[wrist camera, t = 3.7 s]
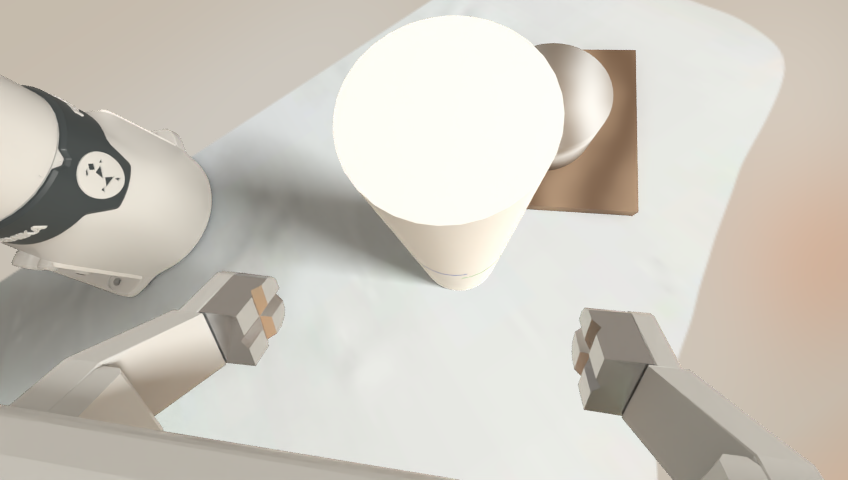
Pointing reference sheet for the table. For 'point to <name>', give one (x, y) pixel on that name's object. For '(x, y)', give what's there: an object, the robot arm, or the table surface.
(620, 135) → the base
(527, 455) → the table surface
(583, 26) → the table surface
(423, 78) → the cylindrical container
